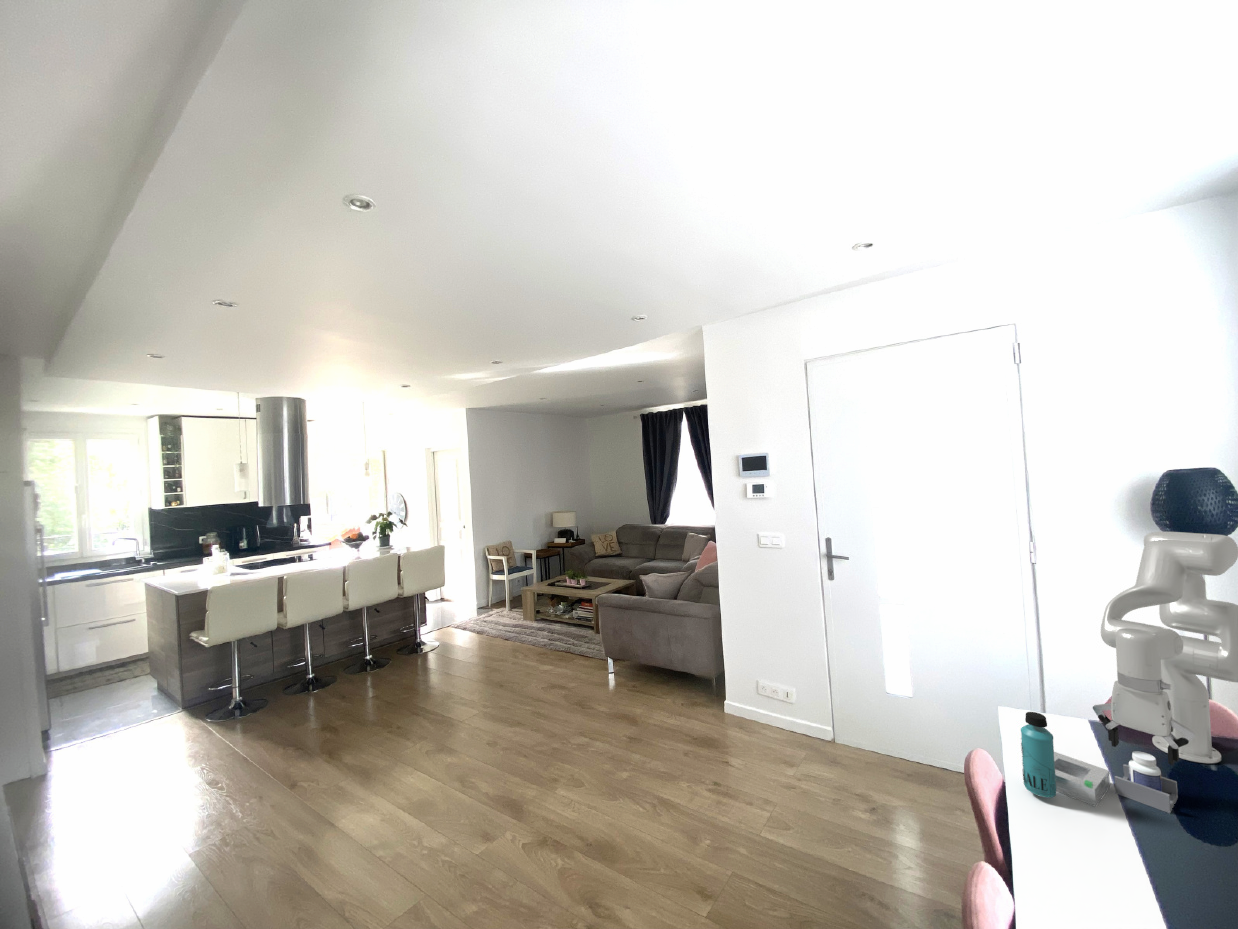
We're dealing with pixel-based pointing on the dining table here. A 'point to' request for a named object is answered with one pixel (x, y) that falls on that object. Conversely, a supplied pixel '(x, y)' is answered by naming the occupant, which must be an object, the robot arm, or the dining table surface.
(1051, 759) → the beverage bottle
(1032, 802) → the dining table surface
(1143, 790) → the grey open frame
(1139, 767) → the pill bottle
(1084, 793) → the port
